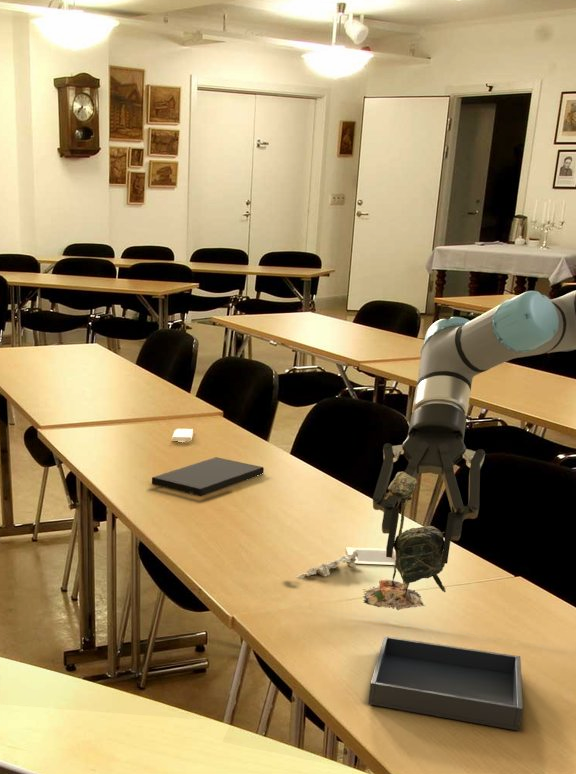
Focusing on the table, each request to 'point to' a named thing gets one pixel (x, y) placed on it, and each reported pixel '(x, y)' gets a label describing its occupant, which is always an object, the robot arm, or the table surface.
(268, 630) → the table surface
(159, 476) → the dark grey flat slab
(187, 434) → the white flat block
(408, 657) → the tray
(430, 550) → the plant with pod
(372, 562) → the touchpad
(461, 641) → the table surface
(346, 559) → the lizard figurine
